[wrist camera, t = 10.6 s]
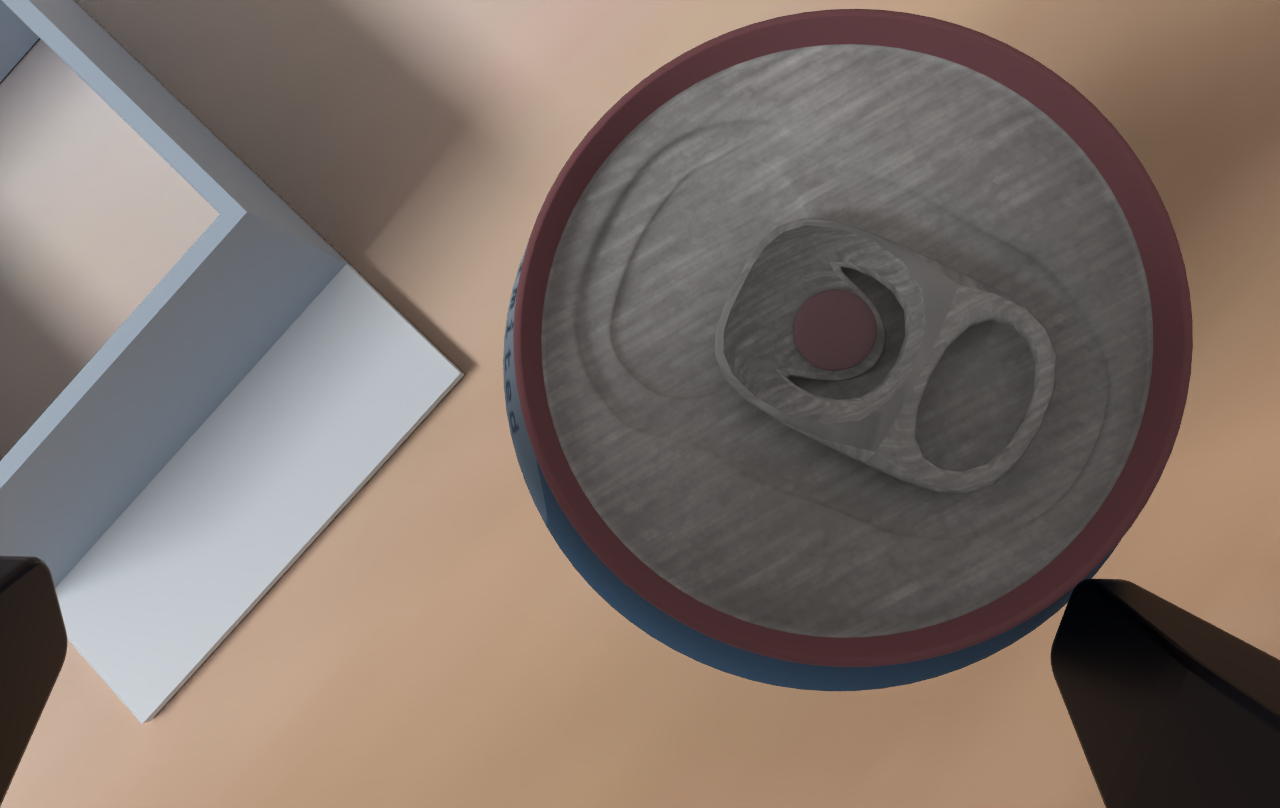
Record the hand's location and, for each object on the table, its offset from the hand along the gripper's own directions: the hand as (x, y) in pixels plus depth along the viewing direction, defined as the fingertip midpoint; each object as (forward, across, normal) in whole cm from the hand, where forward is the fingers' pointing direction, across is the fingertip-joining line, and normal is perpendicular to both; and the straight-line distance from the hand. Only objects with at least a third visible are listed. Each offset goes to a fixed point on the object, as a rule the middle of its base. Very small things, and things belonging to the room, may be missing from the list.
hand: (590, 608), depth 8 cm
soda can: (+11, -5, +4) cm, 12 cm away
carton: (+15, +13, +6) cm, 21 cm away
